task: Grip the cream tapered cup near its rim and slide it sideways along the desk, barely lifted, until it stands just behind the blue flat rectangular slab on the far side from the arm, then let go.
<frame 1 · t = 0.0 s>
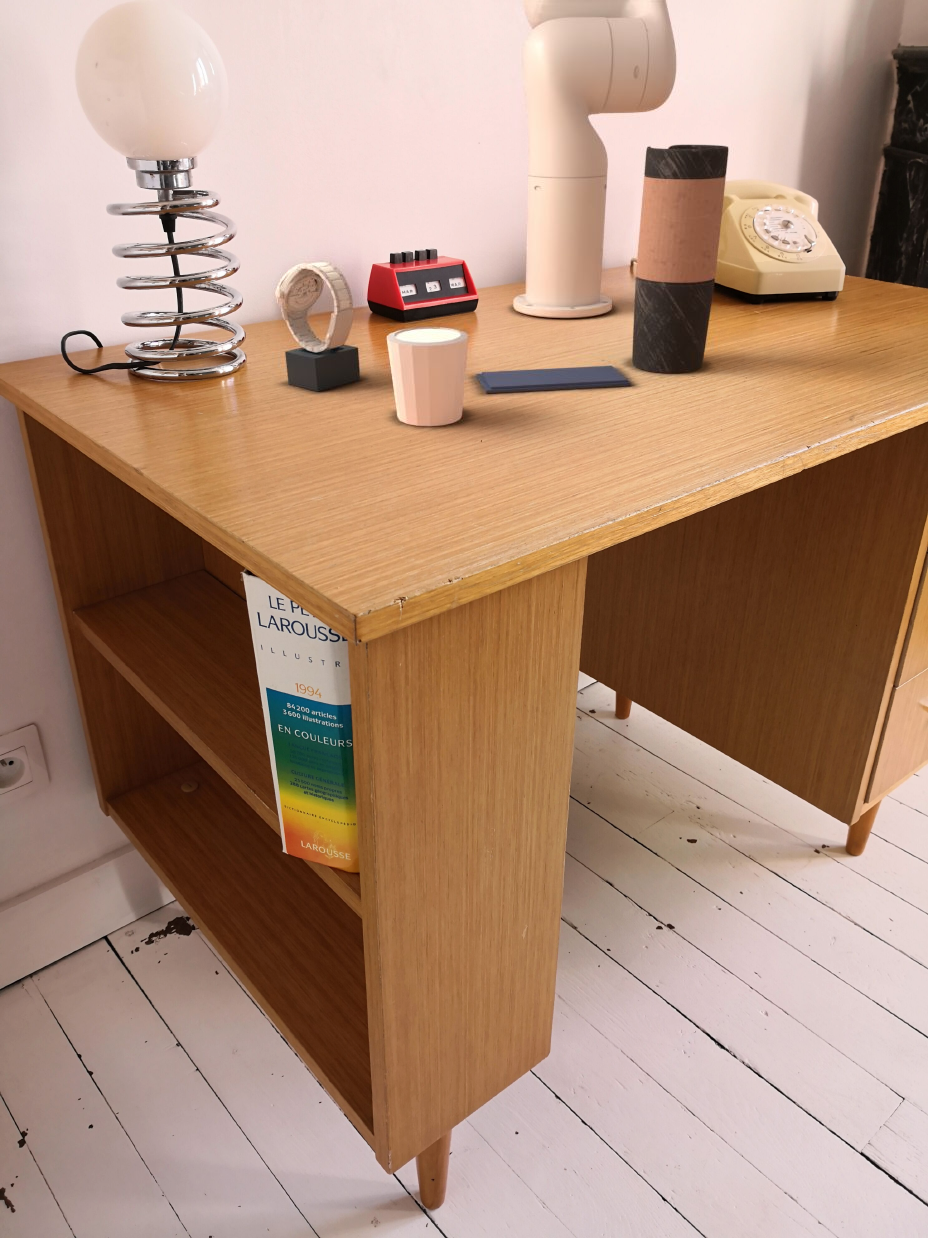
cream tapered cup: (429, 418, 83), on the table
travel mug: (666, 366, 97), on the table
blue flat rectangular slab: (551, 381, 92), on the table
watch: (323, 383, 93), on the table
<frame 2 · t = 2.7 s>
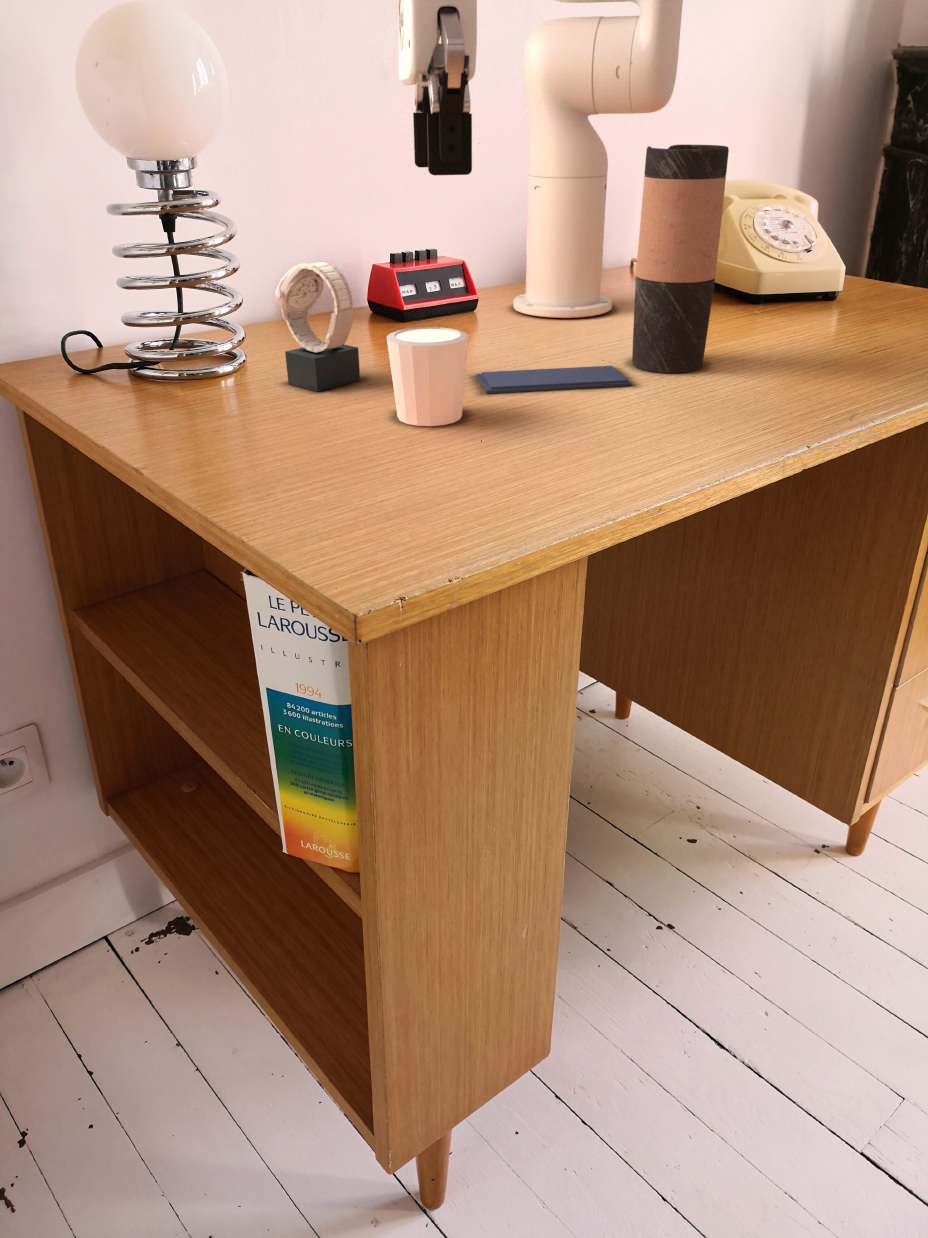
hand: (441, 170, 74), 19 cm above the table, tool pointing down, fingers open, 9 cm apart
nothing on the table moved.
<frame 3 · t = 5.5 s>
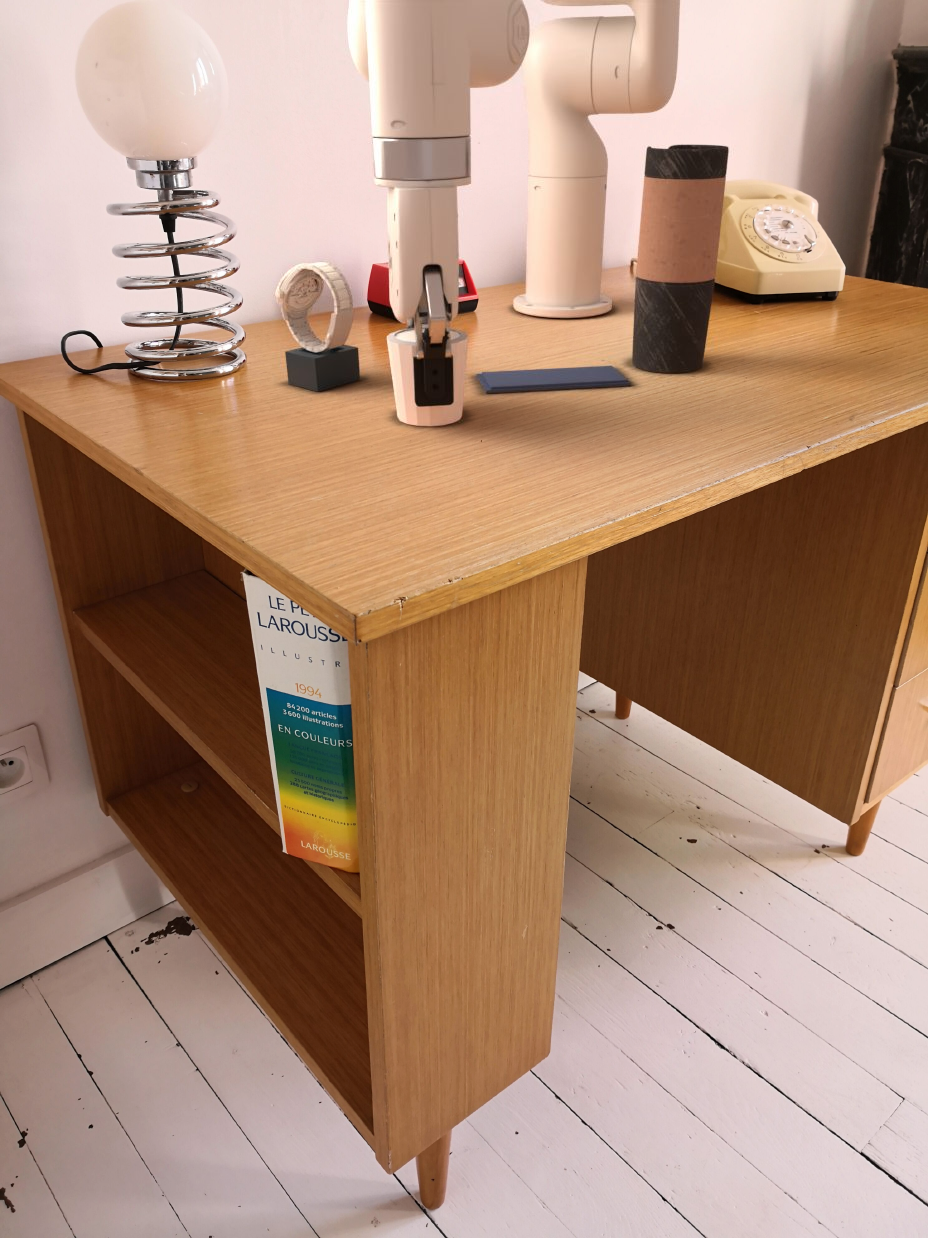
hand: (429, 390, 82), 2 cm above the table, tool pointing down, fingers closed on cream tapered cup, 6 cm apart
cream tapered cup: (429, 418, 83), on the table, touching gripper
everything else where it was.
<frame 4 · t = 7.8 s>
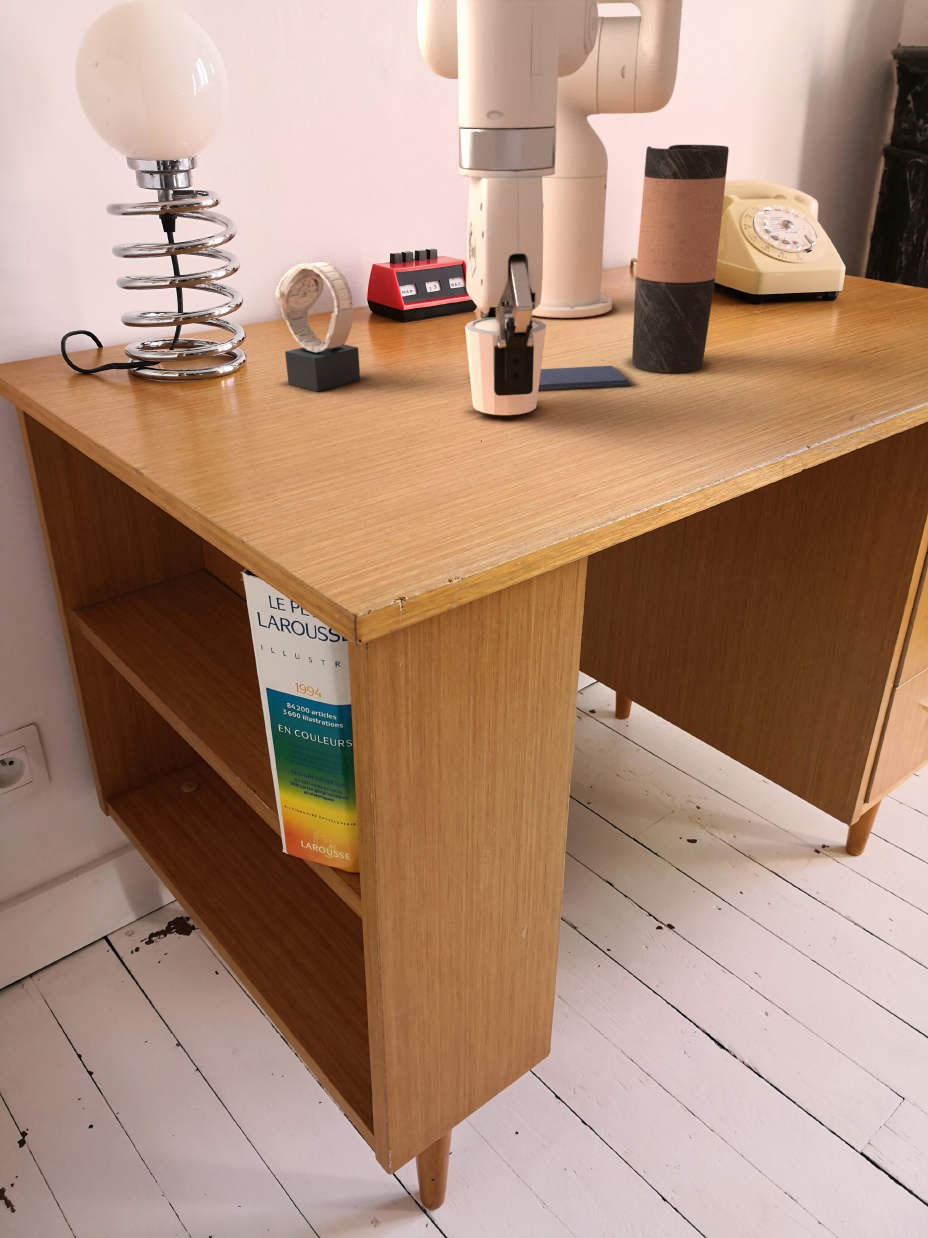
hand: (505, 379, 82), 3 cm above the table, tool pointing down, fingers closed on cream tapered cup, 6 cm apart
cream tapered cup: (504, 407, 84), on the table, touching gripper
everything else where it was.
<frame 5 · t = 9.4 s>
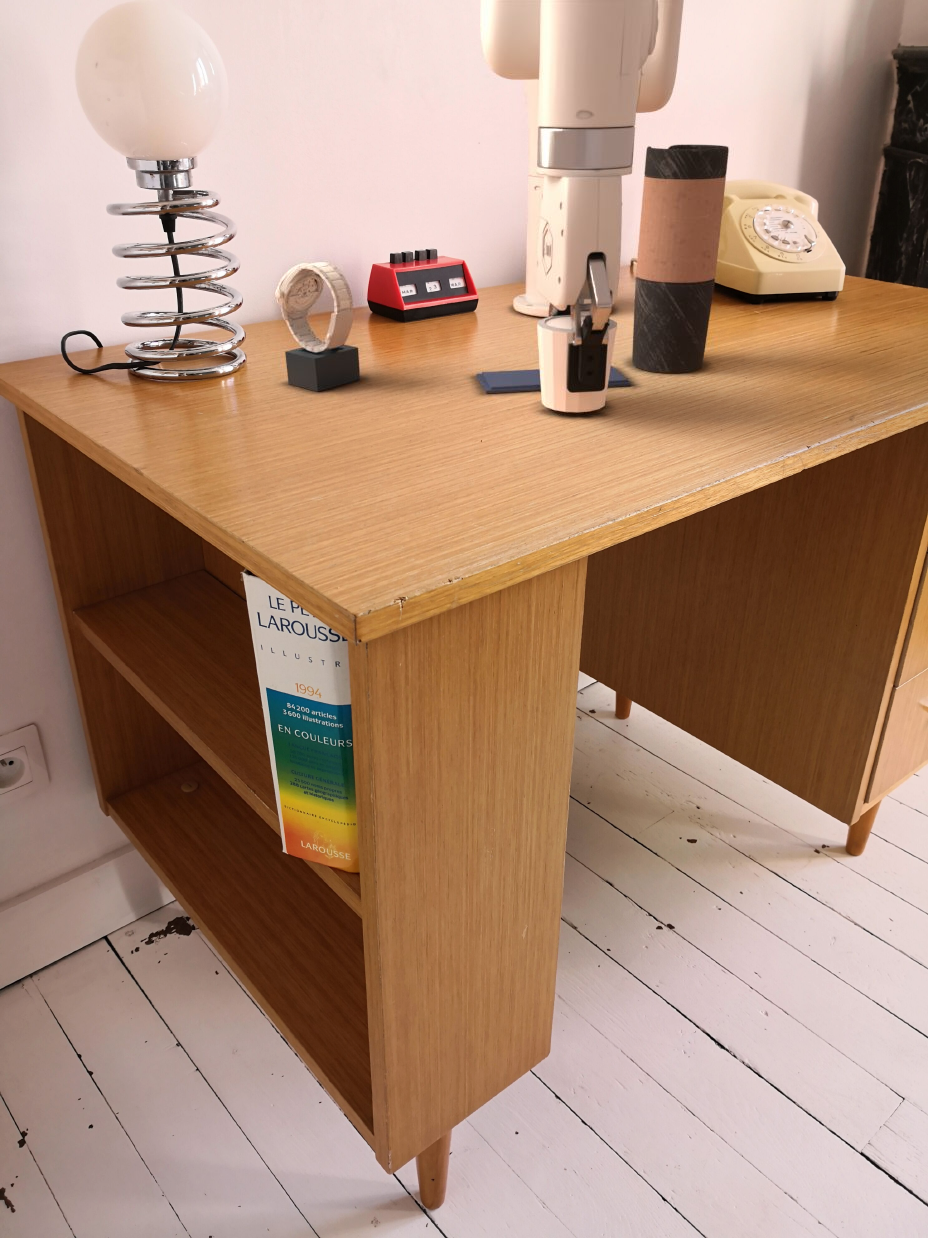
hand: (574, 377, 83), 3 cm above the table, tool pointing down, fingers closed on cream tapered cup, 6 cm apart
cream tapered cup: (573, 404, 84), on the table, touching gripper
everything else where it was.
when the fingers open (2 cm above the table, at t = 10.2 s): cream tapered cup stays where it is, on the table.
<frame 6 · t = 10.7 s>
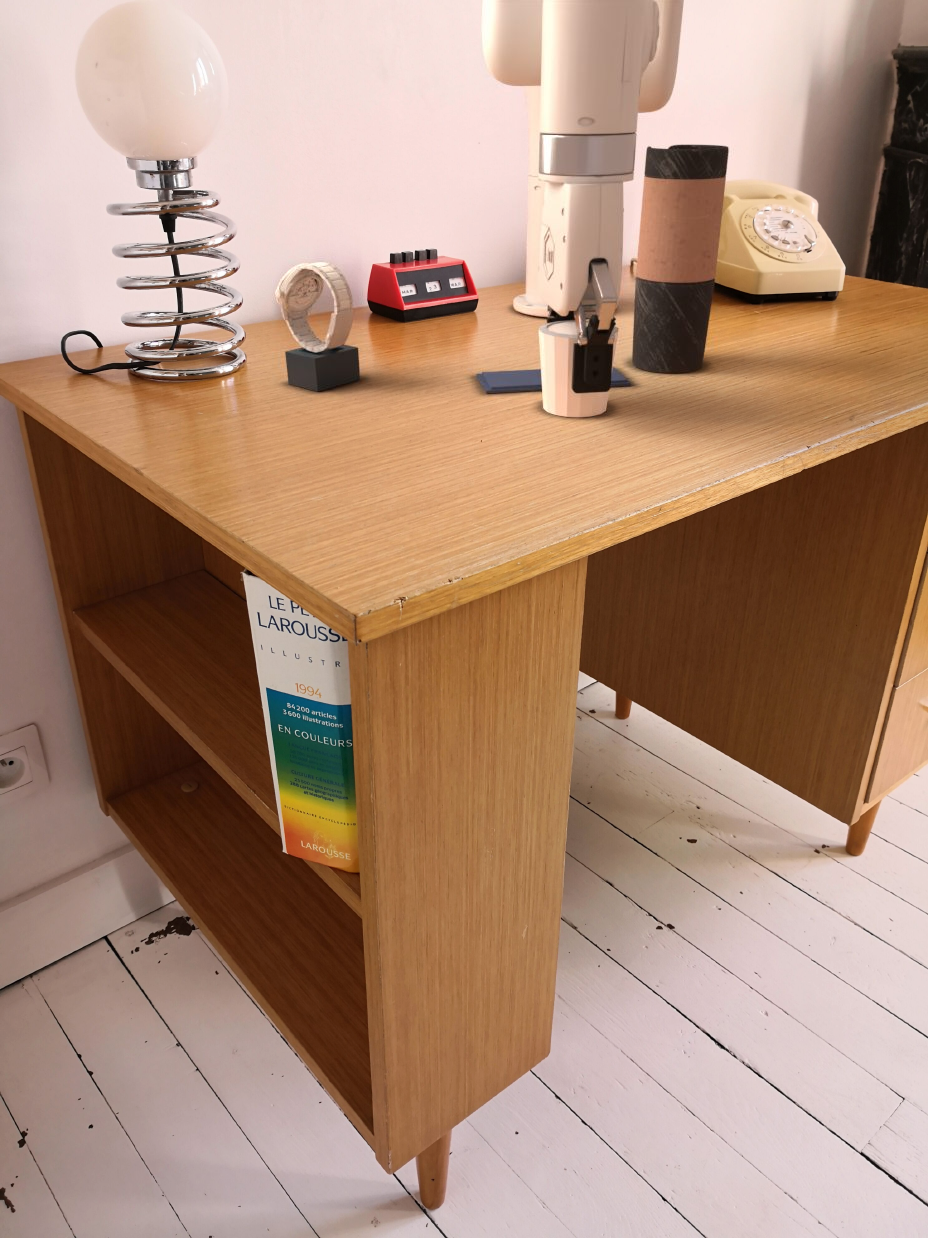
hand: (576, 376, 83), 3 cm above the table, tool pointing down, fingers open, 9 cm apart
cream tapered cup: (574, 409, 85), on the table
everything else where it was.
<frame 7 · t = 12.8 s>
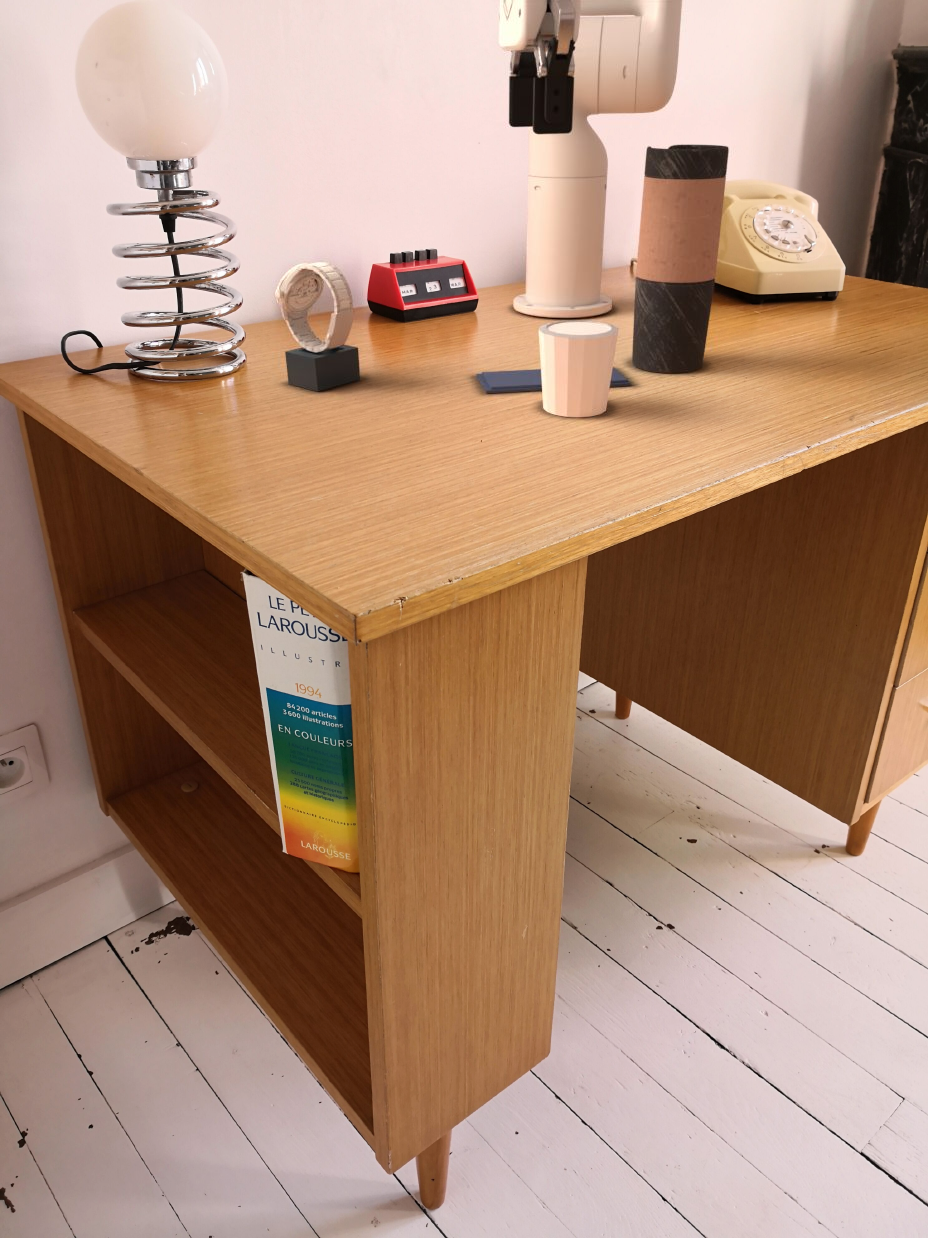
hand: (538, 129, 82), 22 cm above the table, tool pointing down, fingers open, 9 cm apart
nothing on the table moved.
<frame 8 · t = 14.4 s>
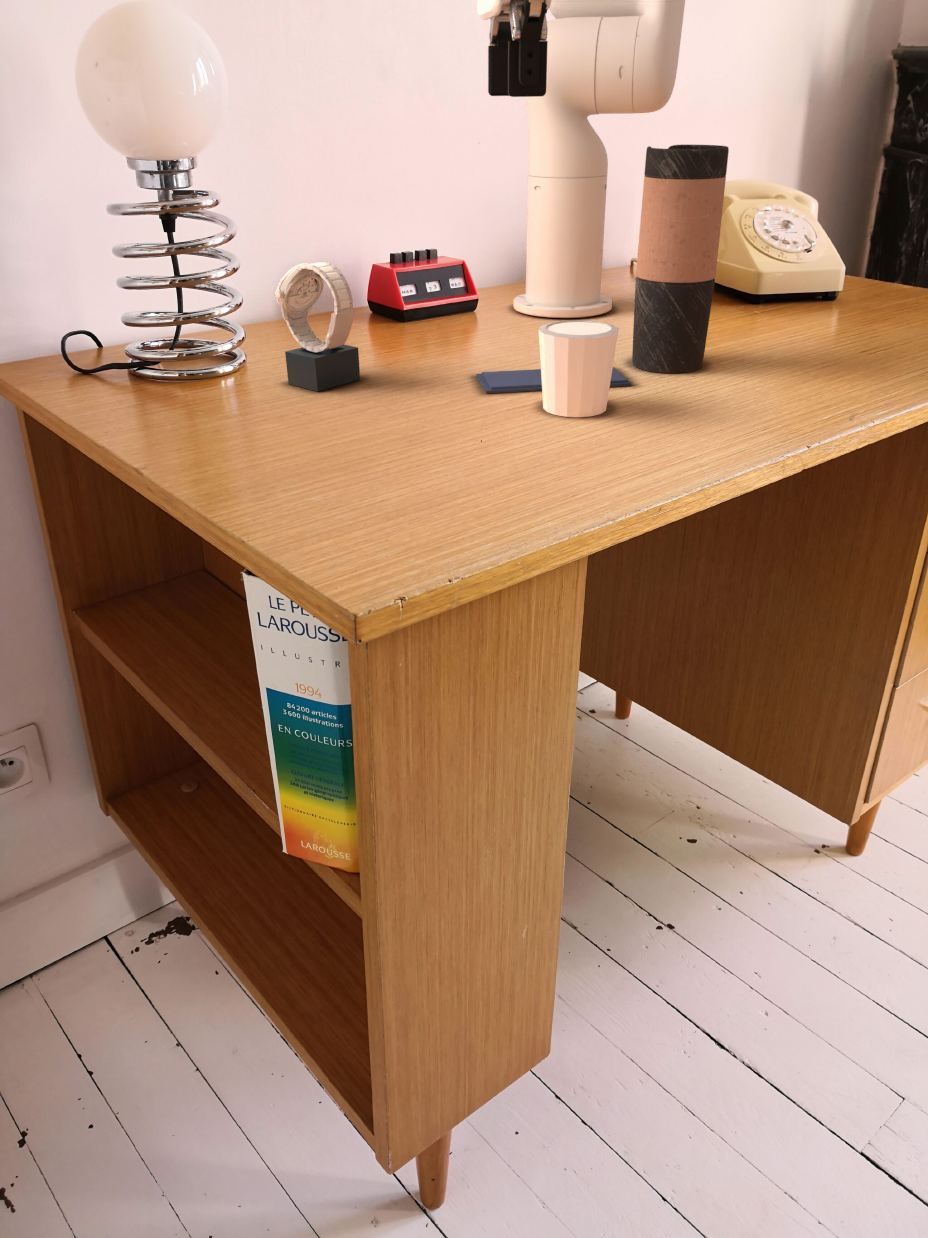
hand: (515, 95, 84), 24 cm above the table, tool pointing down, fingers open, 9 cm apart
nothing on the table moved.
at the end: cream tapered cup inside the target area (0.8 cm from its centre), on the table; cream tapered cup tilted 0°; the gripper is holding nothing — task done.
